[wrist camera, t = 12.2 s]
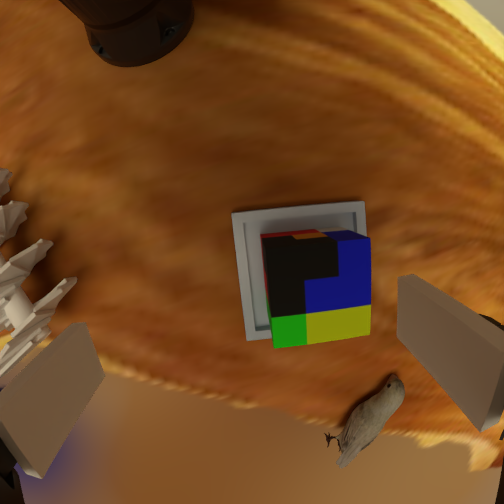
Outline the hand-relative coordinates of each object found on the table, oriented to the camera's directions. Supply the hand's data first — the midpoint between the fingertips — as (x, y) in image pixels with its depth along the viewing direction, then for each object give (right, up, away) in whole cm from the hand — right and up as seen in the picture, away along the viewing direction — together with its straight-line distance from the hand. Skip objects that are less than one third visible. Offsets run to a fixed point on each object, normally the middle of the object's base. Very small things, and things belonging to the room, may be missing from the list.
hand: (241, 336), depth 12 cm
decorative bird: (+18, -22, +33) cm, 44 cm away
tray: (+7, +1, +28) cm, 29 cm away
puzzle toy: (+7, +1, +27) cm, 28 cm away
